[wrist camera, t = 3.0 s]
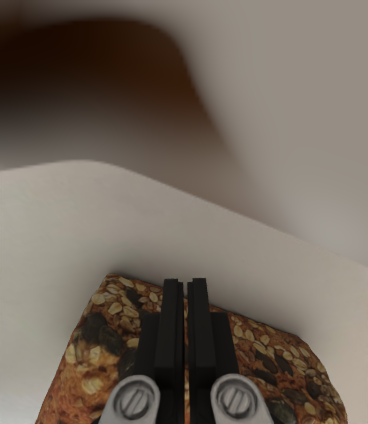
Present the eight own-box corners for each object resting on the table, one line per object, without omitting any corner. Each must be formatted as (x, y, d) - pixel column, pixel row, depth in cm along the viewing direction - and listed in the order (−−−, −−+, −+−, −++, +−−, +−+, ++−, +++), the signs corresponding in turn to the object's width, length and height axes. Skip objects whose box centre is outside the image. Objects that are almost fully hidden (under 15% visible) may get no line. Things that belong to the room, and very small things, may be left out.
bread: (71, 351, 24) (-2, 503, 15) (109, 256, 21) (45, 376, 11) (253, 410, 27) (289, 572, 17) (314, 334, 23) (401, 486, 14)
